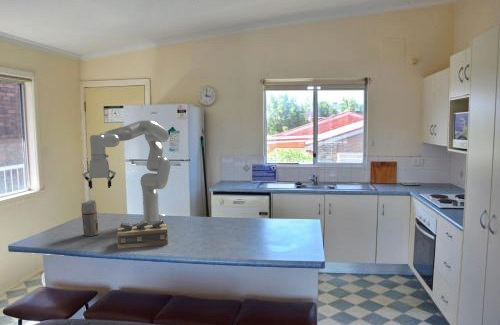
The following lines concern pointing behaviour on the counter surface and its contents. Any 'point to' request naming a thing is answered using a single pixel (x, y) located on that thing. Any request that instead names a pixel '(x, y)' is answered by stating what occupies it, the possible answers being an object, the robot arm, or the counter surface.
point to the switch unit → (142, 236)
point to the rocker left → (126, 225)
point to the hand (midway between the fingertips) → (100, 188)
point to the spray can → (89, 218)
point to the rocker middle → (142, 224)
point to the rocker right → (158, 222)
